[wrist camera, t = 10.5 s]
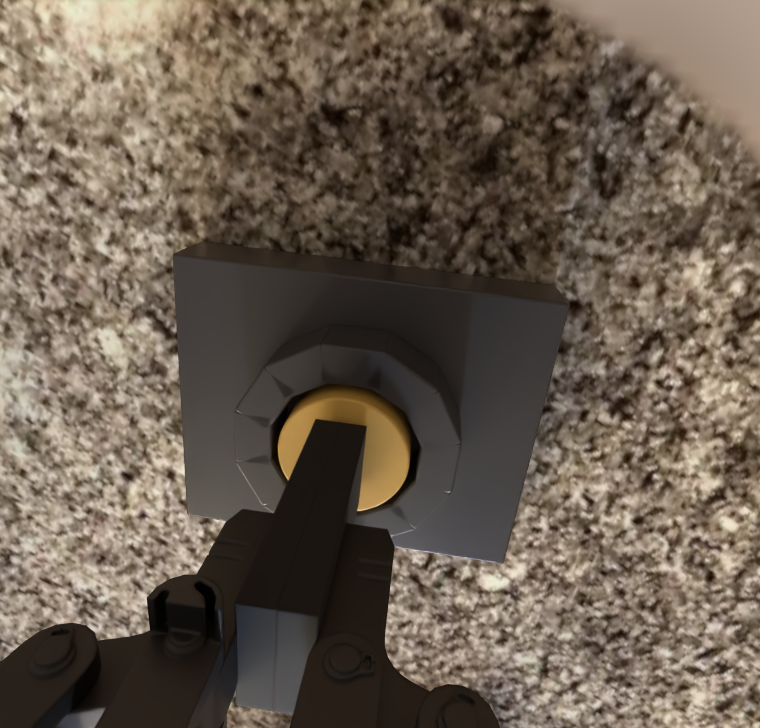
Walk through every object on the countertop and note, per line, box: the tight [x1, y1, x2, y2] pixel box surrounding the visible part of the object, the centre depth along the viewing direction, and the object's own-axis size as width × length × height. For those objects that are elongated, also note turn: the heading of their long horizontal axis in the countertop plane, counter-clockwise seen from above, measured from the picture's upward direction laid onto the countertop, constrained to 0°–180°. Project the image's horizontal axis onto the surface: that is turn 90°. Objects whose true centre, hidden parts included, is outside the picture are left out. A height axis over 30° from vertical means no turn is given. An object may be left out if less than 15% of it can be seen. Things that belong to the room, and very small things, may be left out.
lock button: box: [278, 383, 412, 511], centre depth 16 cm, size 4×4×2 cm
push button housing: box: [173, 241, 569, 564], centre depth 18 cm, size 12×10×4 cm
